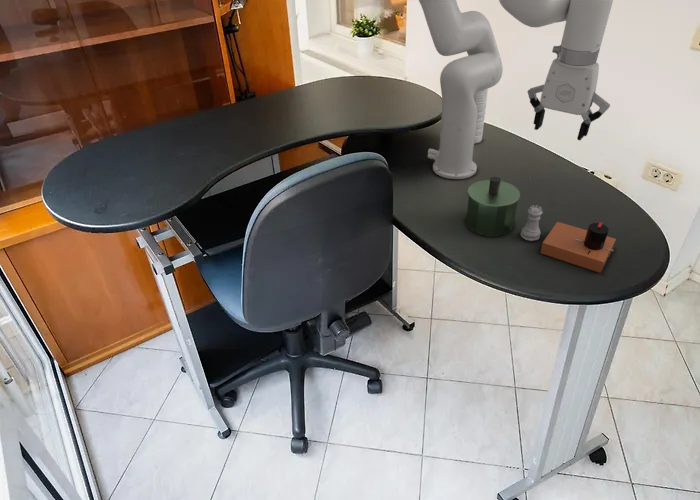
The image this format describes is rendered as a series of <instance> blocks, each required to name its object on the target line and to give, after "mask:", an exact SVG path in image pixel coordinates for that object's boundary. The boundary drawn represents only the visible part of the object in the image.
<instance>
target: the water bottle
mask: <svg viewBox="0 0 700 500" xmlns="http://www.w3.org/2000/svg"><path fill="white" fill-rule="evenodd" d="M488 91H489V88H488V89H485V90H482V91H479V92H477V93H474V95H473V98H474V101H475V103H476V106H477V121H476V130H475V139H474V145H475V144H479V143H481V142H482V140H483V132H484V126H485V118H486V117H485V115H486V108H487V99H488Z"/></svg>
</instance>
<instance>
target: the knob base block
mask: <svg viewBox="0 0 700 500" xmlns="http://www.w3.org/2000/svg"><path fill="white" fill-rule="evenodd" d="M587 230H588V229H584V228H580V227H577V226H575V225H571V224H567V223H563V222H560V221H557V222H555V224H554V225H553V227H552V229H551V230H550V232H549V233H547V236H546V237H545V239H544V240H543V241H542V243H541V249H540V254H542V255H545V256H548V257H550V258H554V259H557V260H558V261H559V260H560V261H563V262H566V263H568V264H572V265H575V266H578V267H581V268H583V269H587V270H590V271H593V272H596V273H599V274H601V273H602V271H603V269H604V267H605V265H606V264H607V262H608V259H609V258H610V255H611V254H612V252H614V247H615V244H616V241H617V238H614V237H611V236H608V235H607V237H606V240H605V243H604V246H603V248H602V249H601V250H592V249H589V248H587V247H586V246H585V245H584V240H585V237H586V233H587Z"/></svg>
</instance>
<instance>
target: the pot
mask: <svg viewBox="0 0 700 500" xmlns="http://www.w3.org/2000/svg"><path fill="white" fill-rule="evenodd" d="M467 201H468V202H467V208H466V209H467V210H466V219H465V225H466V227H467V228H468V229H469V230H470V231H471V232H472V233H475V234H477V235H479V236H483V237H488V238H490V237H491V238H496V237H497V238H498V237H501V236H505V235H507V234H509V233H510V232H512V230H513V227H514V223H515V219H516V212H517V207H518V202H519V200H518V201H517V202H516V203H515V204H513V205H510V206H507V207H488V206H484V205H480V204H478V203H476V202H474V201H473V200H472V199H470V197H469V196H468V200H467Z"/></svg>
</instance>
